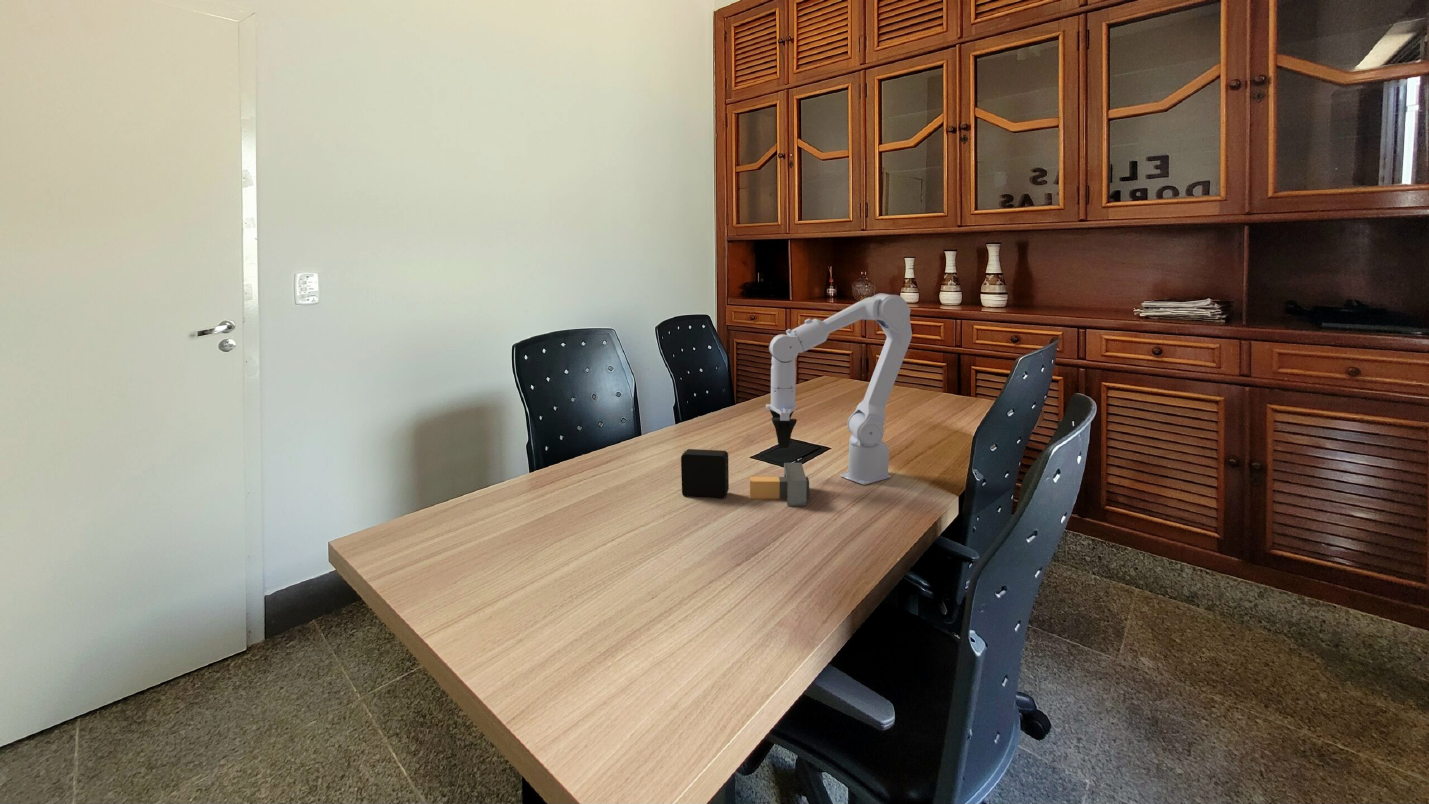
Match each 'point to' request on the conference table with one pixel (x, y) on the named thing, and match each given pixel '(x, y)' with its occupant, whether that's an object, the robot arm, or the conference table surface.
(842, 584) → the conference table surface
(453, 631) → the conference table surface
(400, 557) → the conference table surface
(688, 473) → the electronic device
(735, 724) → the conference table surface
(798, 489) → the grey rectangular block
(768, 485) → the orange and grey bar
